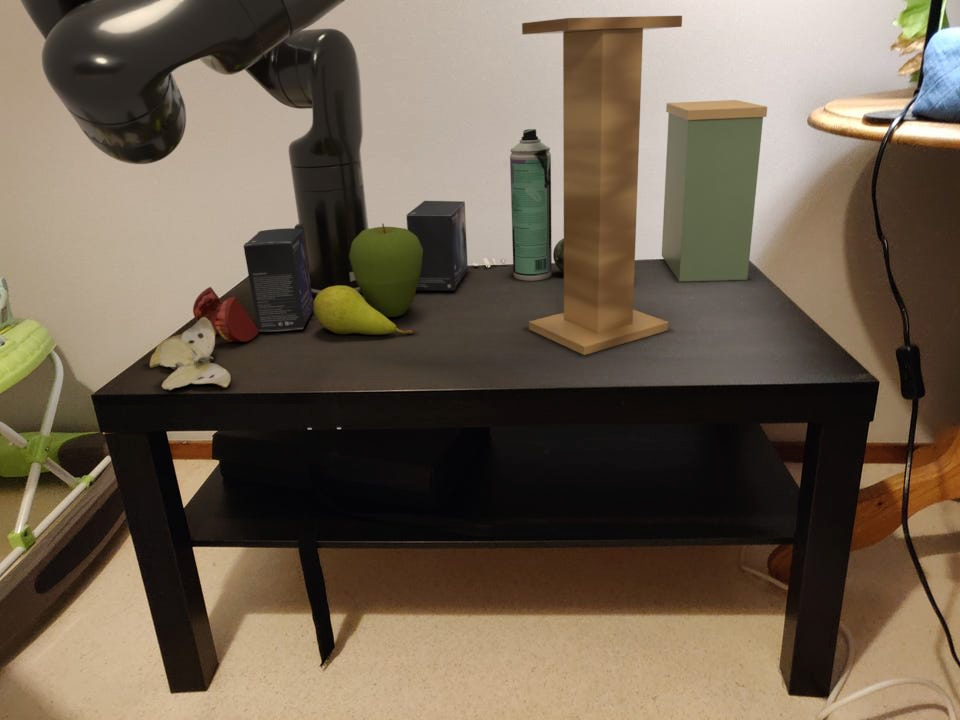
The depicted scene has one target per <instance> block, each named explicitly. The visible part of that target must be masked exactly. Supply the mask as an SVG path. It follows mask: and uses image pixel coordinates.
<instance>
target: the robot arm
mask: <svg viewBox="0 0 960 720" xmlns="http://www.w3.org/2000/svg"><path fill="white" fill-rule="evenodd" d="M345 1H346V0H20V3H21V4H22V7H23V9H24V10H25V11H26V13H27V15H28V16H29V18H30V19H31V21H32V23H33V24H34V25H35V27H36V29H37V30H38V31H39V32H40V34H41V35H42V37H43V38H44V40H45V41H44V44H43V47H42V50H41V65H42V66H41V67H42V71H43V73H44V75H45V79H46V81H47V82H48V84H49V86H50V87H51V88H52V90H53V92H54V93H55V94H56V96H57V97H58V98H59V100H60V101H61V103H62V104H63V105H64V107H65V108H66V110H67V111H68V112H69V114H70V115H71V117H72V118H73V119H74V121H75V122H76V123H77V125H78V127H79V128H80V130H81V131H82V132H83V134H84V135H85V137H86V138H87V139H88V140H89V141H90V142H91V144H93V145H94V146H95V147H96V148H97V149H98V150H99V151H101V152H102V153H103V154H105V155H107V156H108V157H110V158H112V159H114V160H117V161H119V162H123V163H125V164H131V165H149V164H154V163H157V162H159V161H161V160H163V159H165V158H168V156H169V155H171V154H172V153H173V152H174V151H175V150H176V149H177V148H178V146H179V145H180V143H181V141H182V139H183V137H184V134H185V131H186V127H187V109H186V108H187V107H186V104H185V101H184V98H183V95H182V93H181V90H180V89H179V86H178V84H177V82H176V80H175V77H174V75H173V72H174V71H176V70H177V69H178V68H180V67H182V66H184V65H186V64H188V63H189V64H190V63H192V62H194V61H197V60H199V61H200V62H202V64H204V65H205V66H206V67H207V68H209V69H210V70H212V71H214V72H216V73H218V74H221V75H225V76H231V75H236V74H238V73H240V72H243V71H245V72H246V73H247V74H248V75H249V76H250V77H251V78H252V79H253V80H254V81H256V83H258V85H259V86H260V87H261V88H262V89H263V90H264V91H266V92H267V93H268V94H269V95H270V96H271V97H272V98H274V99H275V100H276V101H277V102H279V103H280V104H282V105H284V106H287V107H289V108H293V109H300V110H301V109H303V110H305V109H311V111H312V123H311V127H310V128H309V129H308V131H307V132H306V133H304V135H302V136H300V137H298V138H296V139H294V140H293V141H291V142H290V143H289V144H288V159H289V164H290V171H291V172H290V173H291V179H292V187H293V192H294V199H295V207H296V215H297V220H298V222H297V224H296V225H294V228H296V229H302V230H303V235H304V243H305V249H306V257H307V263H308V270H309V277H310V284H311V291H312V296H314V297H316V296H317V294H318V293H319V292H320V291H322V290H323V289H325V288H328V287H331V286H349V287H351V288H353V289H355V290H356V291H357V292H358V293H359V294H361V295H362V292H361V290H360V288H359V286H358V284H357V281H356V279H355V276H354V273H353V269H352V266H351V262H350V259H349V253H350V249H351V245H352V242H353V240H354V239H355V238H356V237H357V236H358V235H359V234H360V233H361V232H362V231H363V230H367V229H370V228H369V220H368V211H367V201H366V191H365V182H364V173H363V164H362V163H363V162H362V151H361V150H362V149H361V148H362V143H363V139H364V138H363V137H364V123H363V121H364V120H363V105H362V84H361V71H360V64H359V59H358V55H357V52H356V50H355V49H356V48H355V47H354V45H353V43H352V42H351V40H350V38H349V37H348V36H347V34H346V33H344V32H342V31H341V30H339V29H336V28H314V29H313V28H312V29H306V28H309V27H311V26H312V25H314V24H315V23H316V22H319V20H321V19H323V17H325V16H326V15H327V14H329V13H330V12H331V11H333V10H334V9H335V8H337V7H338V6H340V5H341V4H342V3H344V2H345Z"/></svg>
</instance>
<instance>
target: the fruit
mask: <svg viewBox="0 0 960 720" xmlns="http://www.w3.org/2000/svg"><path fill="white" fill-rule="evenodd" d="M313 314H314V315H315V317H316V319H317V320H318V322H319V323H320V325H322V326H323V327H324V328H325V329H327V330H328V331H330V332H332V333H334V334H337V335H349V334H361V335H370V336H383V335H391V334H394V333H401V334H405V335H413V334H415V332H414V330H412V329H408V330H407V329H406V330H402V329H399V328H398V326H397V325H396V324H395V323H394V322H392V321H391V320H390V319H389V318H388V317H385V316H384V315H382V314H381V313H380V312H378V311H377V310H375V309H374V308H372V307H371V306H370V305H369V304H368V303H367V302H366V300H365V298H364V296H363V294H362V293H361V294H359V293H358V292H357V291H356V290H355V289H353V288H351V287H349V286H331V287H328V288H325V289H323V290H322V291H320V292H319V293H318V294H317V296H315V298H314V299H313Z"/></svg>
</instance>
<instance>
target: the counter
mask: <svg viewBox="0 0 960 720" xmlns="http://www.w3.org/2000/svg"><path fill="white" fill-rule="evenodd" d="M665 109H666V110H665V112H666V113H668V117H667V118H668V119H667V136H666V137H667V138H666V139H667V140H666V158H665V159H666V160H665V162H666V163H665V179H664V180H665V181H664V197H663V199H664V200H663V216H662V217H663V218H662V219H663V220H662V236H661V237H662V241H661V257H662V258H663V260H664V261H665V263H666V264H667V266H668V267H669V269H670V270H671V271H672V273H673V274H674V276H675V278H676V279H677V281H678V282H679V283H681V282H682V283H683V282H716V281H717V282H718V281H747V280H748V277H749V268H750V257H751V247H752V237H753V235H752V234H753V227H754V226H753V225H754V217H755V207H756V206H755V204H756V196H757V195H756V194H757V186H758V185H757V184H758V176H759V175H758V173H759V163H760V153H761V142H762V133H763V123H764V122H763V121H764V118H766V117H767V114H768V106H766V105H761V104H757V103H753V102H747V101H743V100H739V99H728V100H727V99H725V100H724V99H723V100H705V101H703V100H702V101H681V102H666V107H665Z"/></svg>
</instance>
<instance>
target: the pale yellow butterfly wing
mask: <svg viewBox="0 0 960 720" xmlns="http://www.w3.org/2000/svg"><path fill="white" fill-rule="evenodd" d="M181 334H182V333H181ZM181 334H180V333H179V334H177V335H173V336H170V337H168V338H166V339H163V340H161V341H160V343H158V345H157V346H156V348H155V351H154V352H153V354H152V355H151V356H150V359H149V368H150V369H151V368H156V367H159V366H161V365H160V363H159V354H160V348H161V345H162V344H163V343H164V342H166V341H167V340H169V339H179V340H180V336H181Z"/></svg>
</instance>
